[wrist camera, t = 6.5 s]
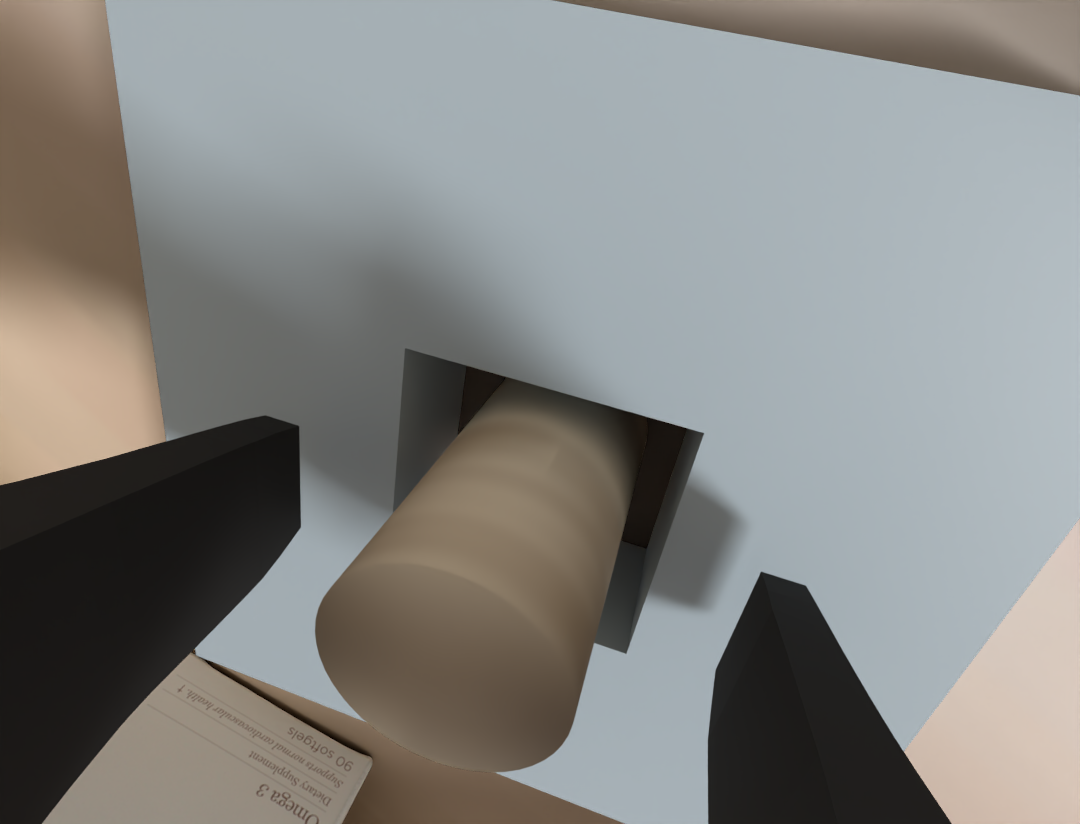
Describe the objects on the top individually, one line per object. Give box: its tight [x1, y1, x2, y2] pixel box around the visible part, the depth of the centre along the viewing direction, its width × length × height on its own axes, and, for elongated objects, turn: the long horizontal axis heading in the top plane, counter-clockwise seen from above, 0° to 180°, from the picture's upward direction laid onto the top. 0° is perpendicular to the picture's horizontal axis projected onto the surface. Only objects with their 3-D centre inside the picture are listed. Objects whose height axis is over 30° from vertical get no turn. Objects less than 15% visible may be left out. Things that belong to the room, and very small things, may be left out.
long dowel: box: [315, 377, 648, 772], centre depth 10 cm, size 3×3×6 cm
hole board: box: [105, 0, 1080, 824], centre depth 11 cm, size 14×14×3 cm
